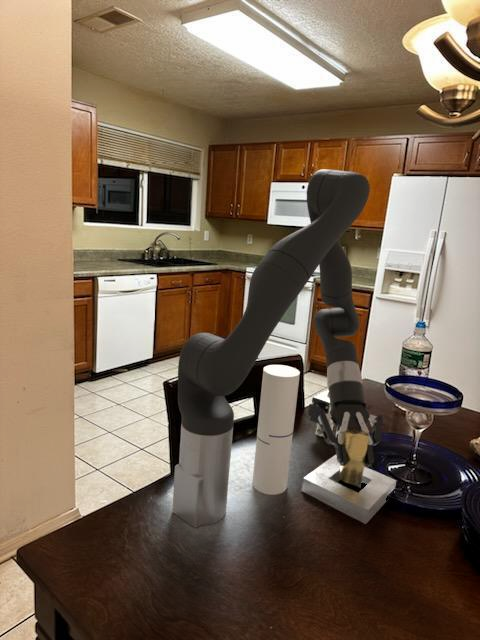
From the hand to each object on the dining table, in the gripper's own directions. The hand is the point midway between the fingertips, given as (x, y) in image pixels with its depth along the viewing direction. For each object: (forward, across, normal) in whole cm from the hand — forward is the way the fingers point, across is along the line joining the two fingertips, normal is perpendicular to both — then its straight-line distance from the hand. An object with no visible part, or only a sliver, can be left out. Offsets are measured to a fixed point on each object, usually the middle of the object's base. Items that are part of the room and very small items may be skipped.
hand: (356, 464), depth 88 cm
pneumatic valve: (-14, +1, +25) cm, 28 cm away
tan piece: (+2, 0, +4) cm, 5 cm away
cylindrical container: (+3, -16, +8) cm, 18 cm away
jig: (+4, 0, +6) cm, 8 cm away
